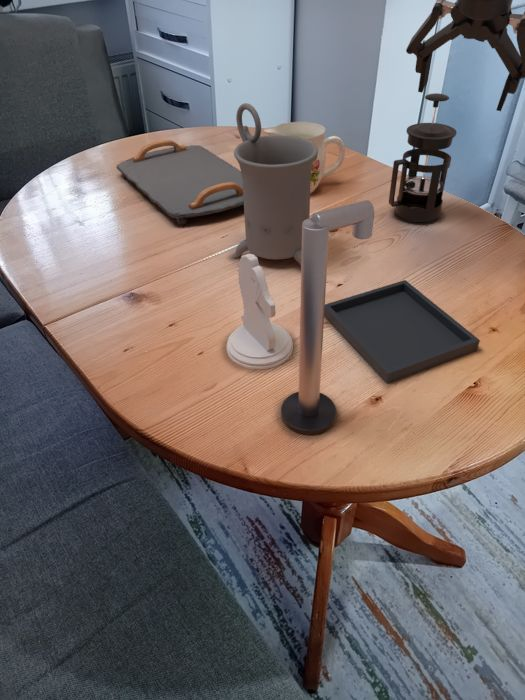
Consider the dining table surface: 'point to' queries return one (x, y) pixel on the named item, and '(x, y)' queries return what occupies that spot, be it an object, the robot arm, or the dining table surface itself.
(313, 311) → the tap
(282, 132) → the pitcher
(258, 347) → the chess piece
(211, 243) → the dining table surface
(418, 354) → the drip tray
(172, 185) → the serving tray
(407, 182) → the french press
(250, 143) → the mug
